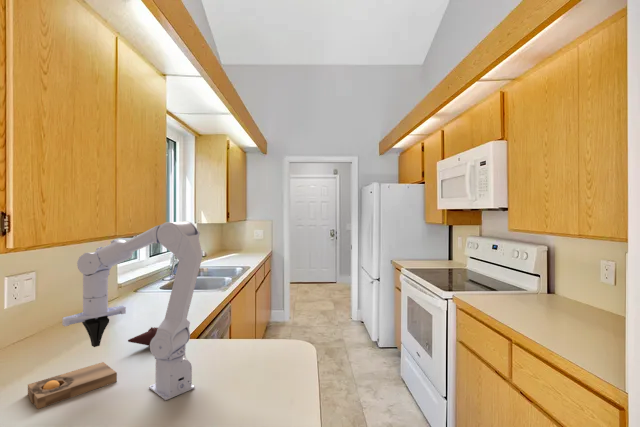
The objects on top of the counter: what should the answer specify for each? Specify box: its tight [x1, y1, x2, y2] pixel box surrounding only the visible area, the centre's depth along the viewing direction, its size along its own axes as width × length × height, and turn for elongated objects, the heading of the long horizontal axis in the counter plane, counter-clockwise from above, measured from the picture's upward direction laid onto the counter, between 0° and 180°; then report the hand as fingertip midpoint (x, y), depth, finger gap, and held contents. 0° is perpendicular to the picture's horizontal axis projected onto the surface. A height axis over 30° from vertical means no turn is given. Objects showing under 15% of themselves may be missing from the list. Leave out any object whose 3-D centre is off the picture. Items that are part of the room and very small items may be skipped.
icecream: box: [127, 326, 158, 348], centre depth 117 cm, size 7×8×15 cm
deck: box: [27, 361, 118, 410], centre depth 90 cm, size 10×17×2 cm, turn 141°
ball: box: [43, 380, 60, 390], centre depth 86 cm, size 3×3×3 cm
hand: (95, 345), depth 93 cm, fingers closed
